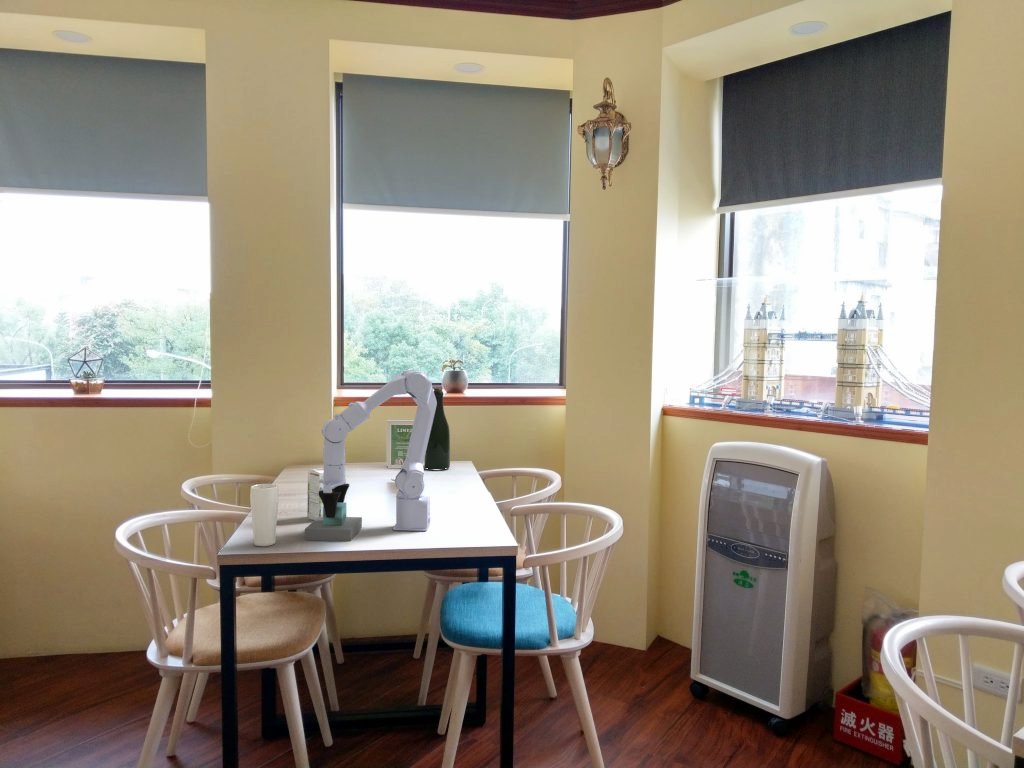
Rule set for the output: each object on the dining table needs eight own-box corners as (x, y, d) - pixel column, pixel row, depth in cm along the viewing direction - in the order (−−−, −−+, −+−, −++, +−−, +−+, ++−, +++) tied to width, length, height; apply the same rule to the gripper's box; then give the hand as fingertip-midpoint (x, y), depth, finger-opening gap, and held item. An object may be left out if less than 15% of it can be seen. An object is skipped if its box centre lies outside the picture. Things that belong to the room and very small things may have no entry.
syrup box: (323, 515, 215) (323, 466, 214) (335, 518, 211) (335, 469, 210) (307, 518, 210) (307, 469, 209) (319, 522, 207) (319, 472, 206)
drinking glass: (266, 549, 180) (265, 489, 179) (244, 546, 182) (244, 487, 181) (284, 542, 186) (284, 484, 185) (263, 539, 188) (262, 482, 187)
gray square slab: (361, 527, 201) (361, 517, 201) (350, 540, 188) (350, 529, 188) (319, 526, 201) (319, 516, 201) (305, 539, 188) (305, 528, 188)
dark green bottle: (423, 466, 297) (424, 387, 295) (448, 466, 299) (449, 387, 297) (425, 471, 287) (425, 388, 285) (451, 470, 289) (452, 389, 287)
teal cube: (346, 520, 197) (346, 502, 197) (341, 525, 192) (341, 506, 192) (328, 520, 197) (328, 502, 197) (323, 525, 192) (323, 506, 192)
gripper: (326, 459, 201) (326, 507, 202) (311, 468, 186) (311, 520, 187) (352, 459, 201) (352, 507, 201) (338, 469, 186) (338, 520, 187)
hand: (334, 513), depth 194 cm, fingers open, 7 cm apart
